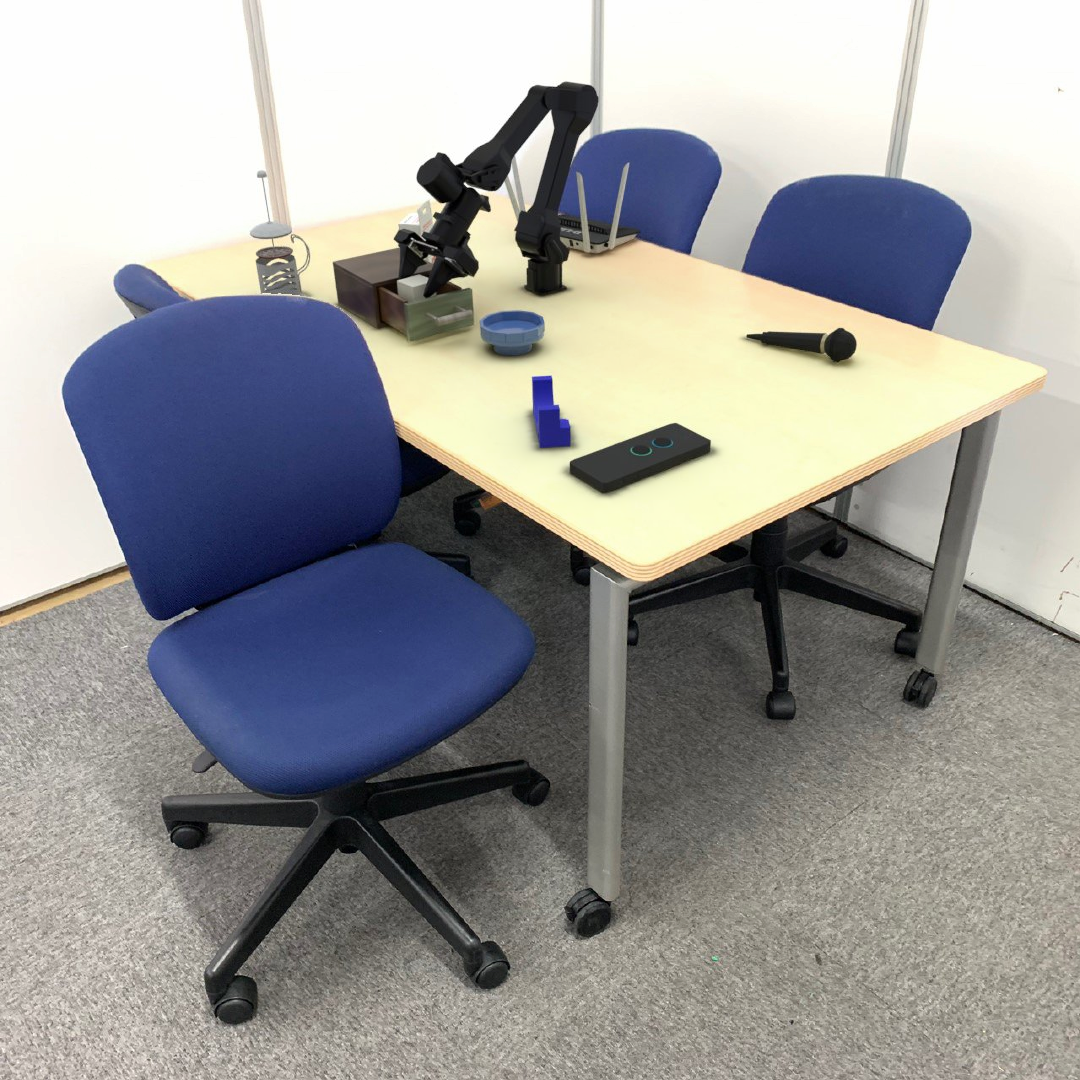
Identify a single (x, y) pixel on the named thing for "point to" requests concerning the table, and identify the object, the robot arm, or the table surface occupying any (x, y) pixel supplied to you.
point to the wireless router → (582, 220)
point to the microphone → (813, 342)
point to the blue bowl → (512, 331)
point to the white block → (412, 288)
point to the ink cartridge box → (419, 223)
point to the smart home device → (639, 457)
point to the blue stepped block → (548, 415)
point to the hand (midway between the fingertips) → (412, 292)
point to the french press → (277, 257)
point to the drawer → (426, 311)
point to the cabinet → (368, 282)
